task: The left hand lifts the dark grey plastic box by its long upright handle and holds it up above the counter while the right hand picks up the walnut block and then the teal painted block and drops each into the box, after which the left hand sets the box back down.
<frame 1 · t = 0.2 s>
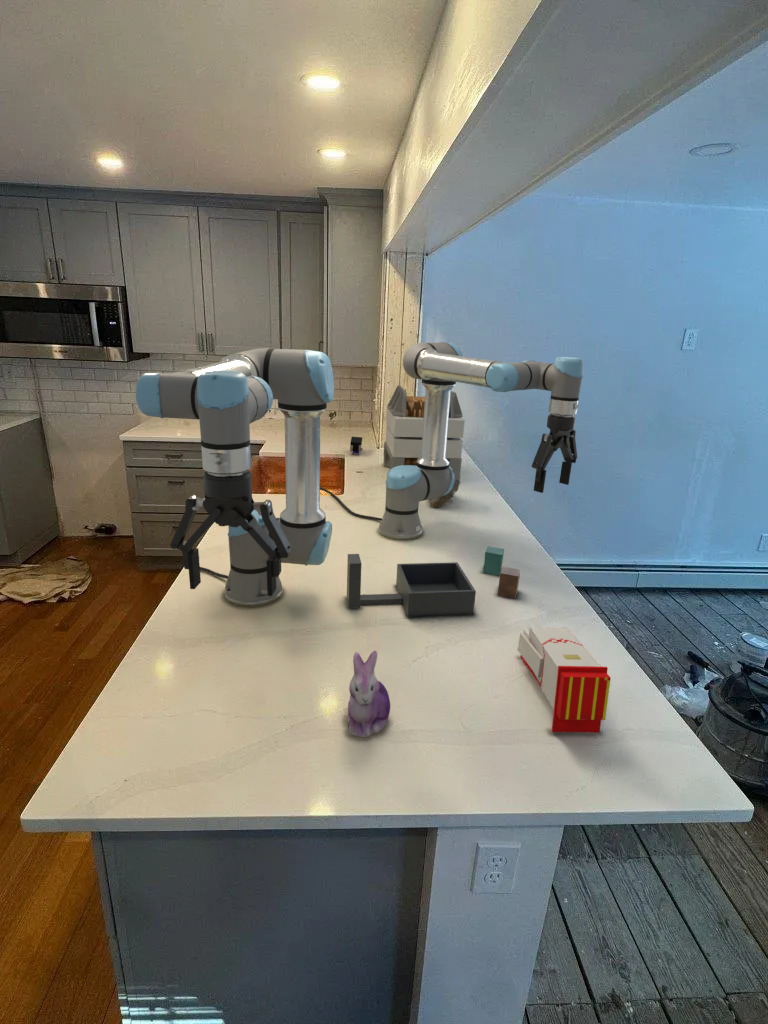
left hand: (233, 589, 98), 28 cm above the counter, fingers open, 13 cm apart
right hand: (551, 487, 165), 28 cm above the counter, fingers open, 13 cm apart
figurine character: (356, 452, 308), on the counter
walnut block: (507, 593, 161), on the counter
transformer: (419, 473, 275), on the counter
toy: (553, 688, 121), on the counter
teal block: (492, 571, 174), on the counter
box: (433, 599, 156), on the counter
fossil: (442, 501, 236), on the counter
figurine: (367, 722, 108), on the counter
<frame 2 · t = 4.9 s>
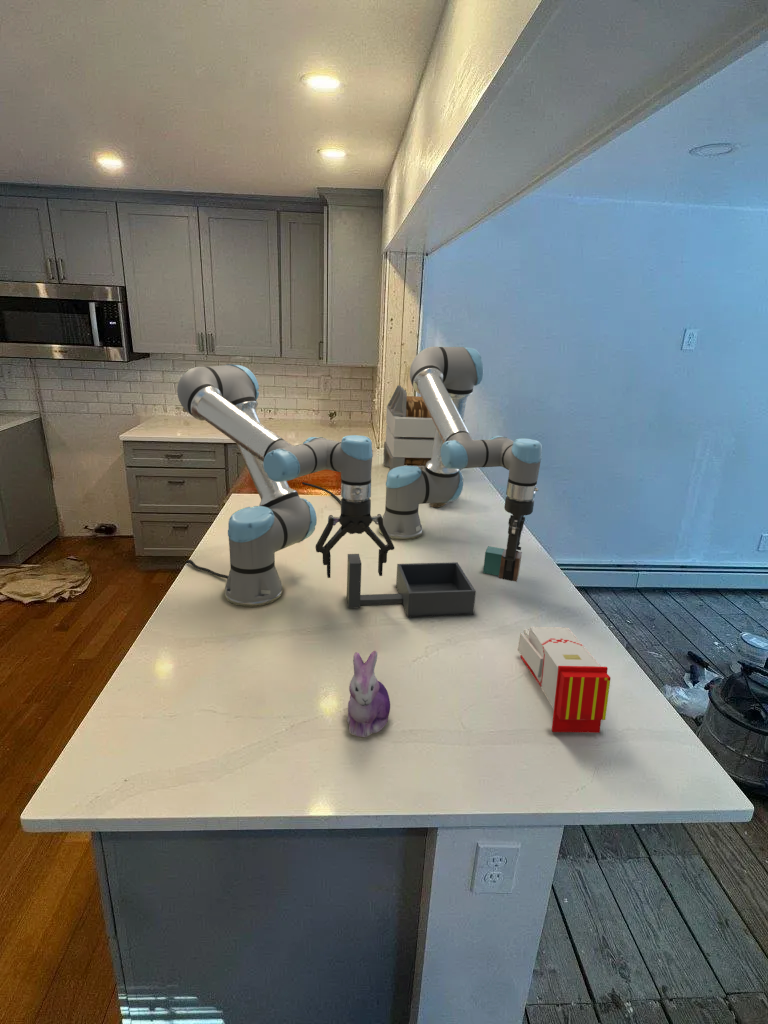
left hand: (354, 574, 149), 8 cm above the counter, fingers open, 13 cm apart
right hand: (509, 575, 160), 6 cm above the counter, fingers closed on walnut block, 5 cm apart
walnut block: (508, 576, 160), point 5 cm above the counter, touching right hand
everything else where it was.
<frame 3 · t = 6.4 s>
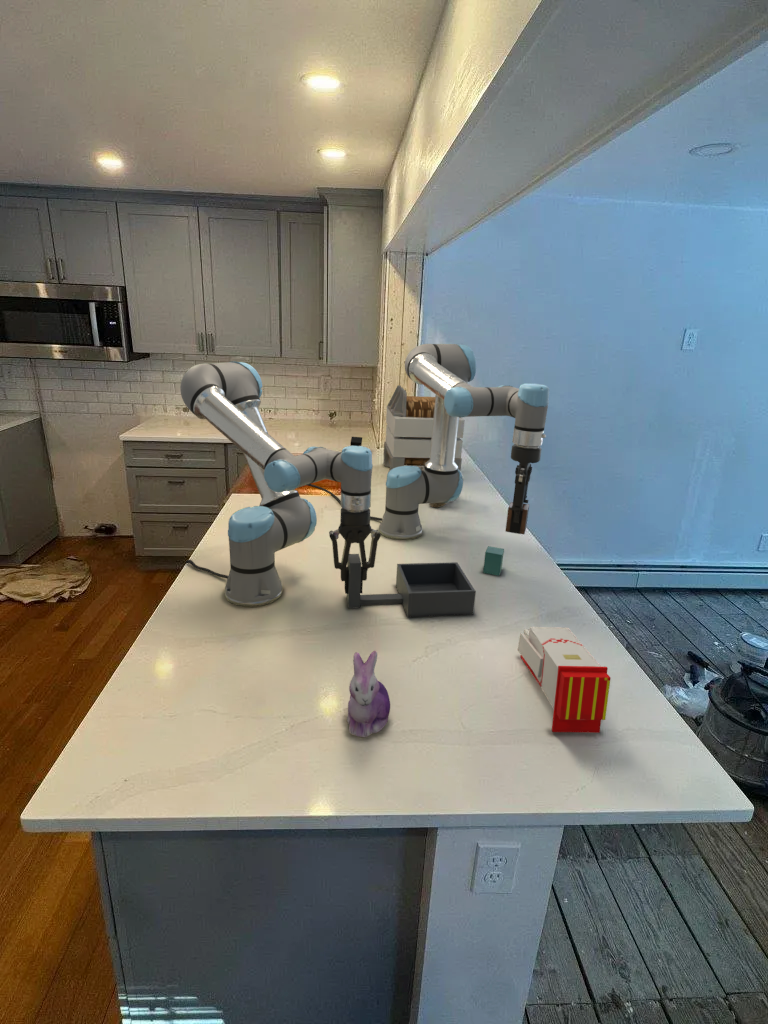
left hand: (353, 590, 151), 4 cm above the counter, fingers closed on box, 3 cm apart
right hand: (516, 528, 154), 20 cm above the counter, fingers closed on walnut block, 5 cm apart
walnut block: (515, 530, 154), point 19 cm above the counter, touching right hand
box: (432, 599, 156), on the counter, touching left hand
everything else where it was.
when the right hand's fingers open (16 cm above the counter, at t = 10.9 s): walnut block drops 7 cm, resting on box.
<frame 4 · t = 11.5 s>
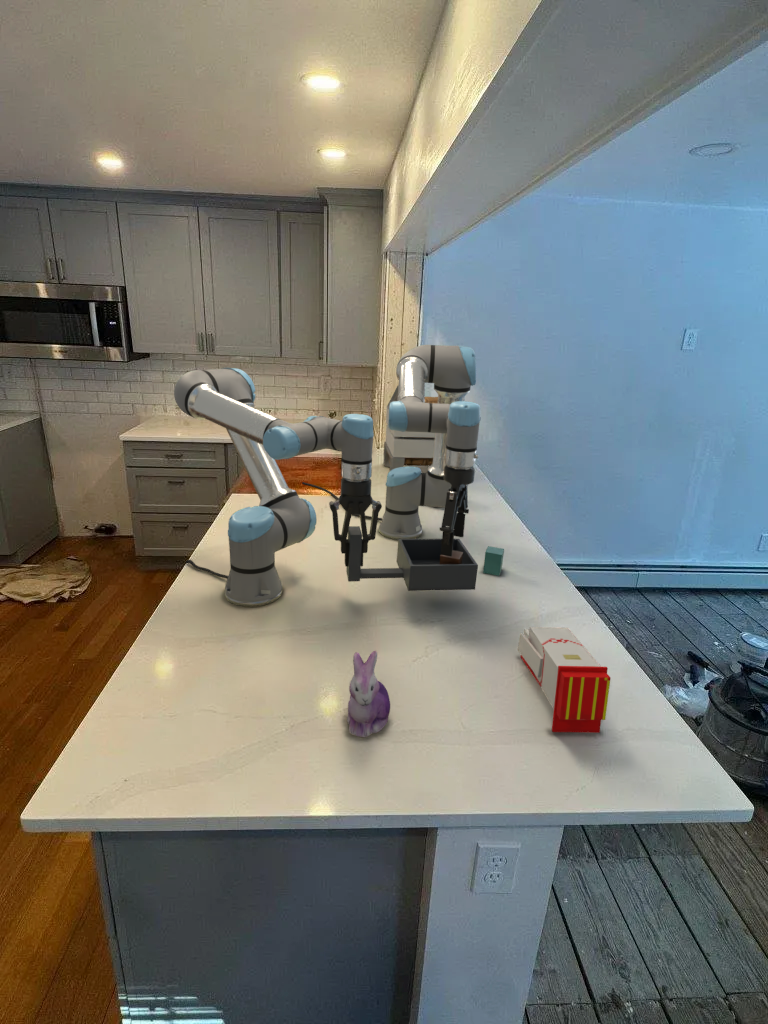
left hand: (353, 563, 148), 11 cm above the counter, fingers closed on box, 3 cm apart
right hand: (452, 545, 147), 18 cm above the counter, fingers open, 13 cm apart
walnut block: (449, 577, 150), point 8 cm above the counter, touching box
box: (434, 575, 153), point 8 cm above the counter, touching left hand, walnut block
everything else where it was.
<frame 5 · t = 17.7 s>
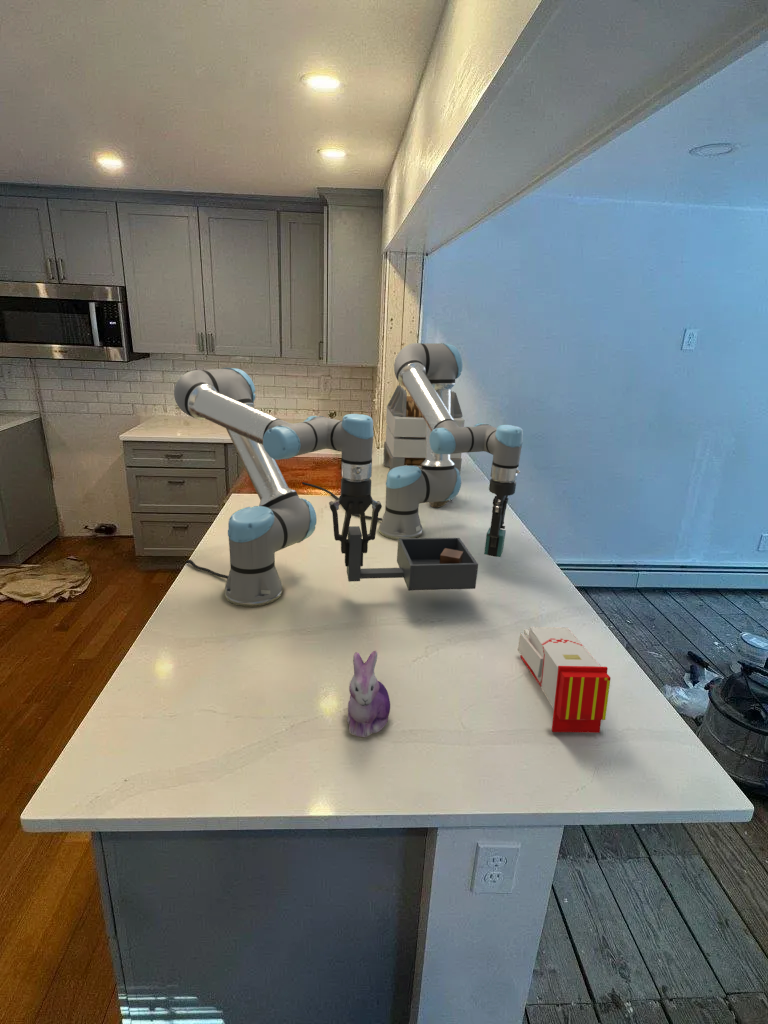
left hand: (353, 563, 148), 11 cm above the counter, fingers closed on box, 3 cm apart
right hand: (493, 551, 173), 6 cm above the counter, fingers closed on teal block, 5 cm apart
teal block: (493, 552, 173), point 6 cm above the counter, touching right hand
box: (434, 574, 153), point 8 cm above the counter, touching left hand, walnut block
everything else where it was.
when the right hand's fingers open (16 cm above the counter, at t = 21.6 s): teal block drops 8 cm, resting on box.
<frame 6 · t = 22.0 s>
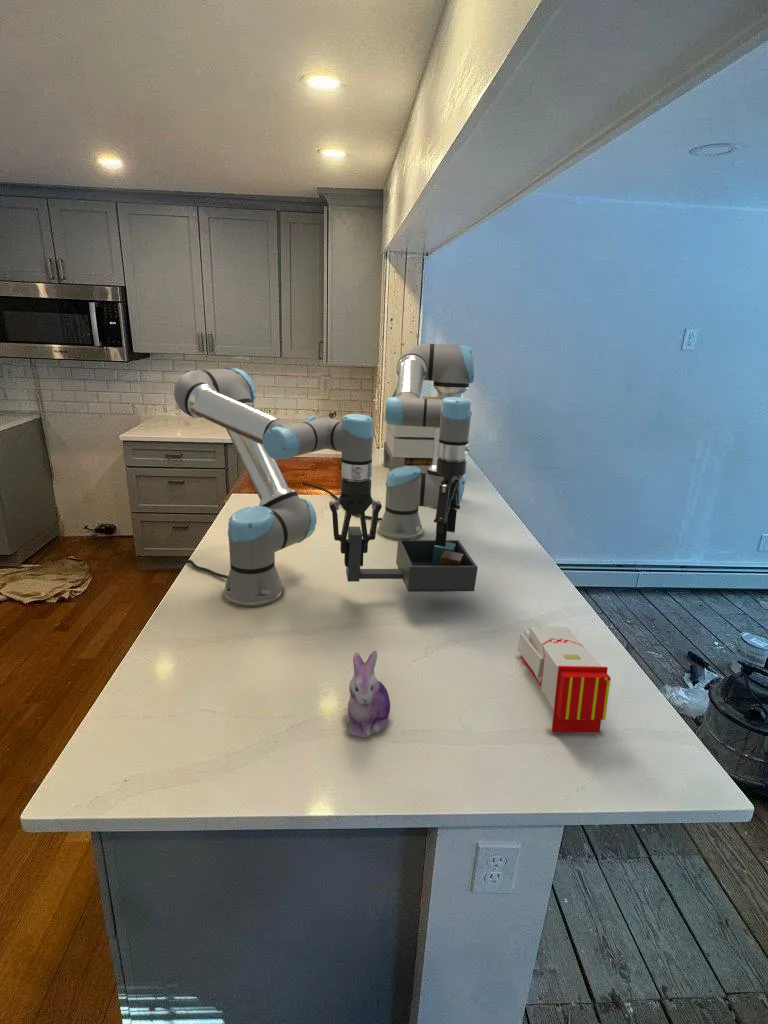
left hand: (353, 563, 148), 11 cm above the counter, fingers closed on box, 3 cm apart
right hand: (445, 538, 154), 17 cm above the counter, fingers open, 10 cm apart
teal block: (442, 568, 157), point 8 cm above the counter, touching box
box: (433, 576, 153), point 7 cm above the counter, touching left hand, teal block, walnut block
everything else where it was.
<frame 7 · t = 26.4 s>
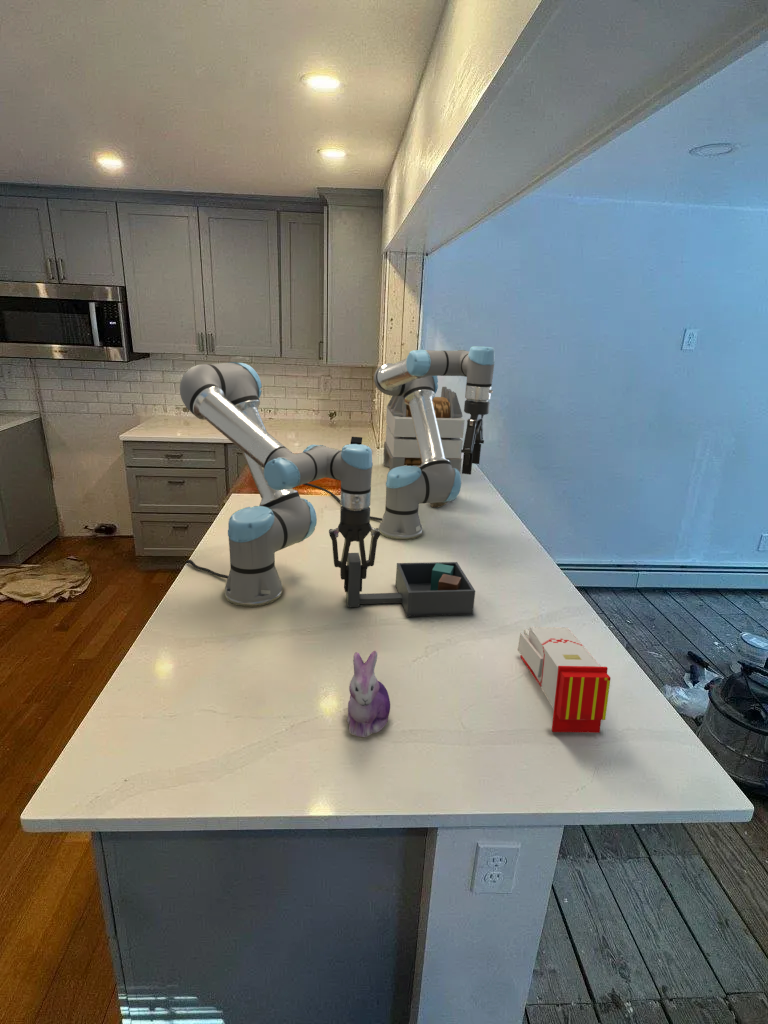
left hand: (352, 589, 151), 4 cm above the counter, fingers closed on box, 3 cm apart
right hand: (470, 468, 177), 29 cm above the counter, fingers open, 13 cm apart
walnut block: (447, 602, 153), point 1 cm above the counter, touching box
teal block: (440, 590, 159), point 1 cm above the counter, touching box
box: (432, 599, 155), on the counter, touching left hand, teal block, walnut block
everything else where it was.
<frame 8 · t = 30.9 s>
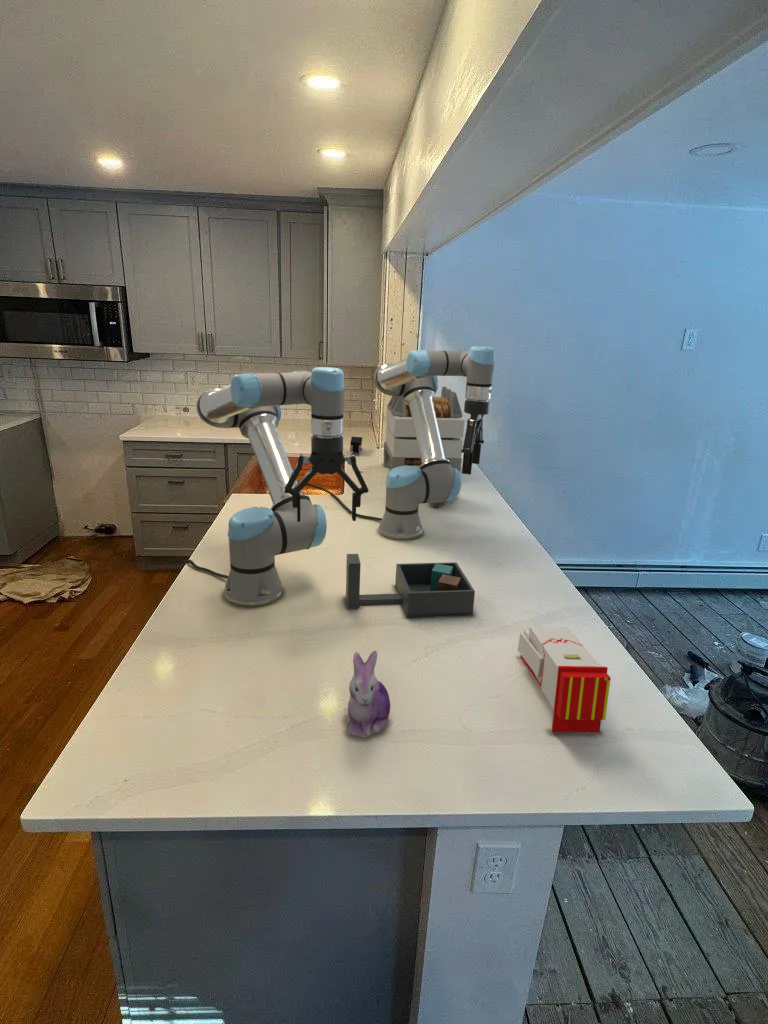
left hand: (326, 519, 141), 25 cm above the counter, fingers open, 13 cm apart
right hand: (470, 468, 177), 29 cm above the counter, fingers open, 13 cm apart
box: (432, 599, 156), on the counter, touching teal block, walnut block
everything else where it was.
at the end: walnut block inside the target area on the box (4.8 cm from its centre), point 0.8 cm above the box's base; teal block inside the target area on the box (4.7 cm from its centre), point 0.8 cm above the box's base; the left hand is holding nothing; the right hand is holding nothing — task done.
